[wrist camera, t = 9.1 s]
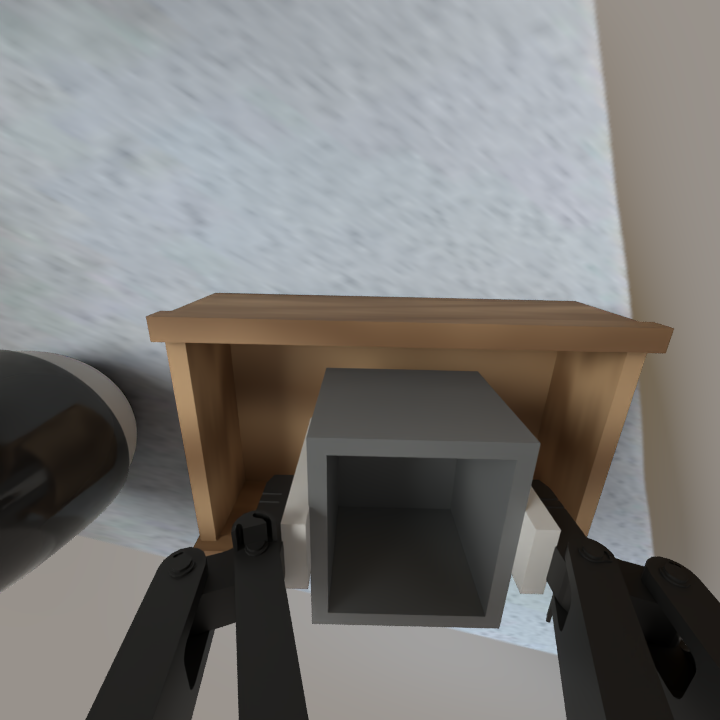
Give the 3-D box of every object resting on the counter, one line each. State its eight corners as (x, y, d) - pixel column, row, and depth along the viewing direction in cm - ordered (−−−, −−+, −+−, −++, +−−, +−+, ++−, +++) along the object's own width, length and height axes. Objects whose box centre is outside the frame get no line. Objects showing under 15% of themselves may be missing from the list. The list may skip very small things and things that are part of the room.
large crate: (211, 291, 19) (145, 316, 13) (579, 299, 19) (673, 328, 13) (235, 483, 23) (194, 565, 17) (533, 489, 23) (589, 573, 18)
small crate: (326, 367, 16) (306, 437, 10) (477, 371, 16) (540, 443, 10) (327, 506, 19) (312, 623, 13) (457, 510, 19) (499, 628, 13)
